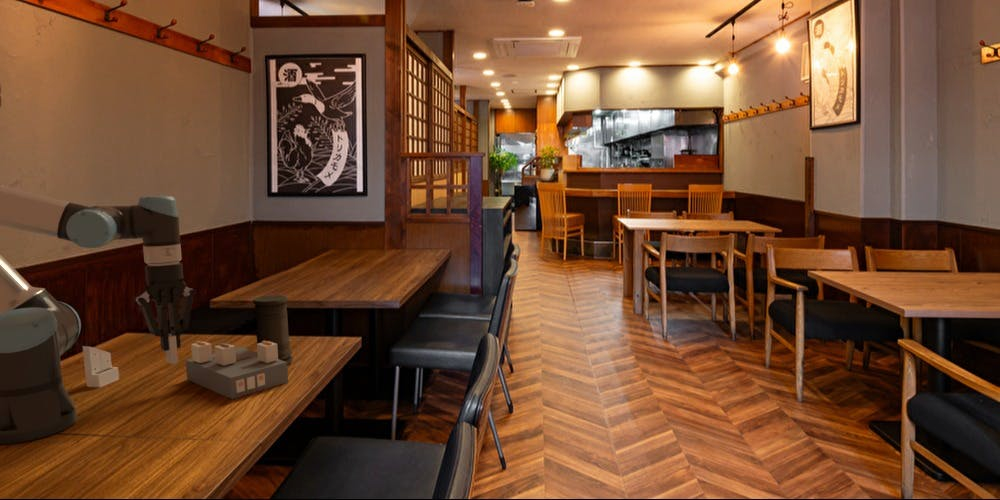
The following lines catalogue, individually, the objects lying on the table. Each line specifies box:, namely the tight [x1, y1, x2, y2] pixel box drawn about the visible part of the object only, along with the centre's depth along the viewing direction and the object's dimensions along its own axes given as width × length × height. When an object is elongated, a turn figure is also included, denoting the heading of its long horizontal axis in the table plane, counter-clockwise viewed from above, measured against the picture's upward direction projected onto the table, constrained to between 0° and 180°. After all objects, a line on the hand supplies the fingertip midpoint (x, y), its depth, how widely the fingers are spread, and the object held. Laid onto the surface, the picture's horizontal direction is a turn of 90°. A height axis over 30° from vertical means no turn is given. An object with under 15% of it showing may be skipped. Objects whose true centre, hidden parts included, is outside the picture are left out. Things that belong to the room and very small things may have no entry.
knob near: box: [256, 341, 278, 363], centre depth 146 cm, size 3×4×4 cm
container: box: [252, 294, 294, 366], centre depth 159 cm, size 9×9×18 cm
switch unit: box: [185, 346, 289, 400], centre depth 147 cm, size 14×22×5 cm, turn 51°
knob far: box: [190, 340, 213, 363], centre depth 147 cm, size 3×4×4 cm
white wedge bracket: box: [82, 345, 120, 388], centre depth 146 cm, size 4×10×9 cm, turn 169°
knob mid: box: [214, 342, 236, 365], centre depth 145 cm, size 3×4×4 cm
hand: (172, 362), depth 141 cm, fingers closed
